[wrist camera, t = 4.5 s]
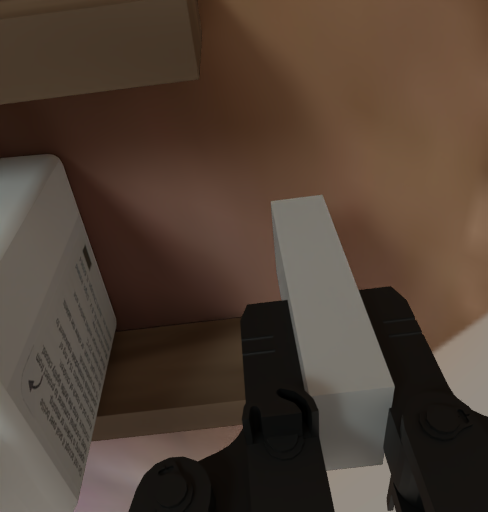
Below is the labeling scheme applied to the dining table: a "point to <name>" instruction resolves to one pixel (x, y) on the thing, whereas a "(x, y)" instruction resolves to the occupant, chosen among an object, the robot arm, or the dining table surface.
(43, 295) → the container
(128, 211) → the dining table surface
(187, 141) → the dining table surface
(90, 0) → the rack
